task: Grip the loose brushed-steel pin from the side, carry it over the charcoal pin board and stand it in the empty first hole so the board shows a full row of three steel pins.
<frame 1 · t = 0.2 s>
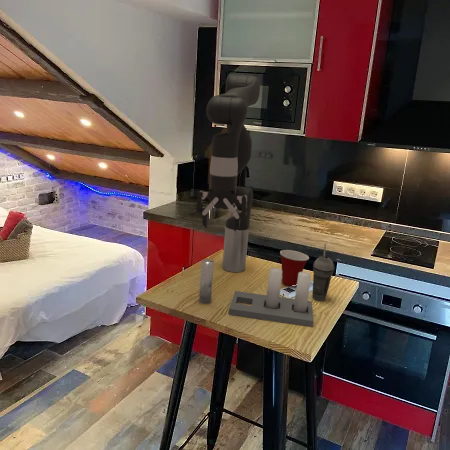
hand: (220, 228, 123), 29 cm above the table, tool pointing down, fingers open, 8 cm apart
steel pin: (204, 301, 143), on the table
plastic cup: (290, 284, 163), on the table
pin board: (271, 310, 140), on the table
beverage cup: (318, 298, 152), on the table
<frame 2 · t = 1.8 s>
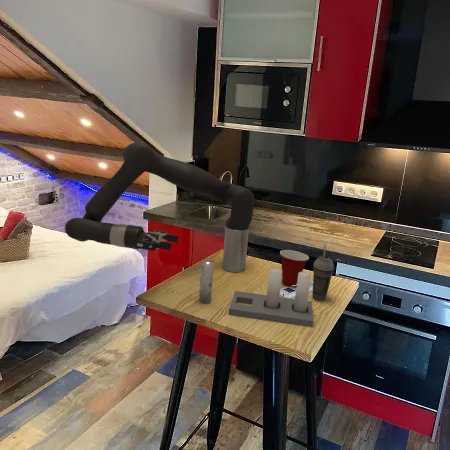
hand: (175, 242, 139), 19 cm above the table, tool horizontal, fingers open, 8 cm apart
nothing on the table moved.
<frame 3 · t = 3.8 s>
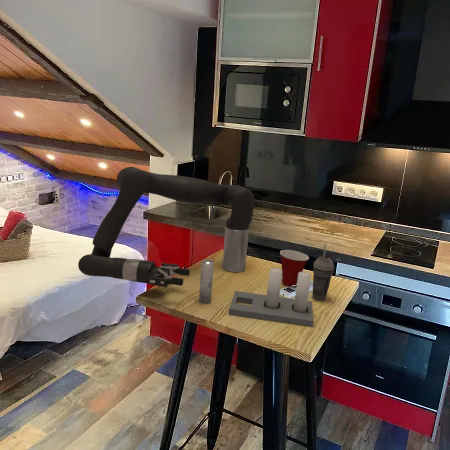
hand: (186, 277, 142), 7 cm above the table, tool horizontal, fingers open, 8 cm apart
nothing on the table moved.
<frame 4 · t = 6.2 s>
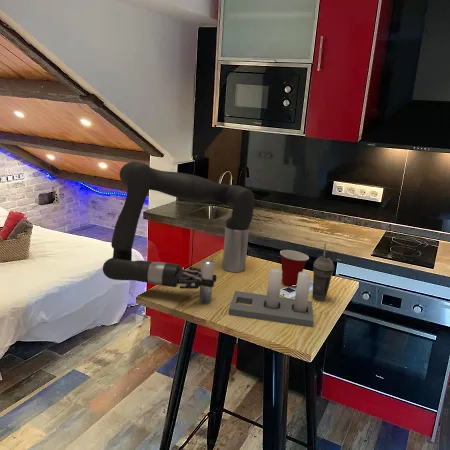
hand: (214, 281, 140), 8 cm above the table, tool horizontal, fingers closed on steel pin, 4 cm apart
steel pin: (204, 301, 143), on the table, touching gripper
everything else where it was.
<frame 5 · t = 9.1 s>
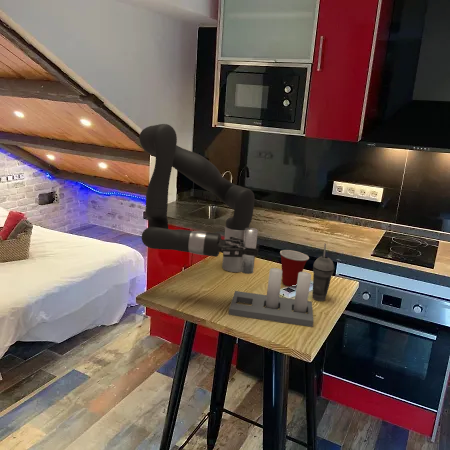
hand: (258, 250, 135), 20 cm above the table, tool horizontal, fingers closed on steel pin, 4 cm apart
steel pin: (247, 271, 138), point 12 cm above the table, touching gripper
everything else where it was.
when the fingers open (9 cm above the table, at t = 12.0 s): steel pin drops 1 cm, resting in pin board.
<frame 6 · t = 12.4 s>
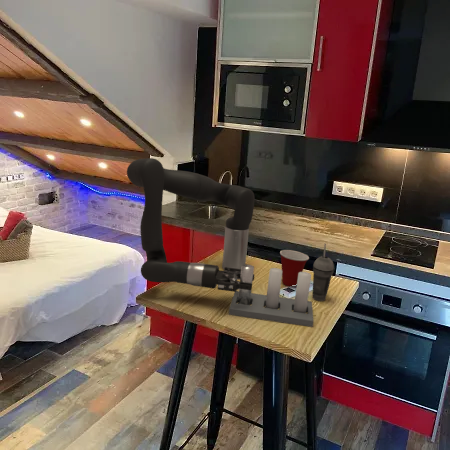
hand: (253, 282, 138), 9 cm above the table, tool horizontal, fingers open, 7 cm apart
steel pin: (243, 306, 141), resting in pin board
everything else where it was.
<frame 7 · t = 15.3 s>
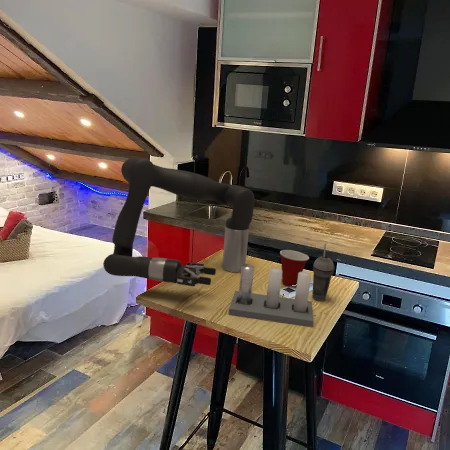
hand: (213, 276, 140), 9 cm above the table, tool horizontal, fingers open, 8 cm apart
nothing on the table moved.
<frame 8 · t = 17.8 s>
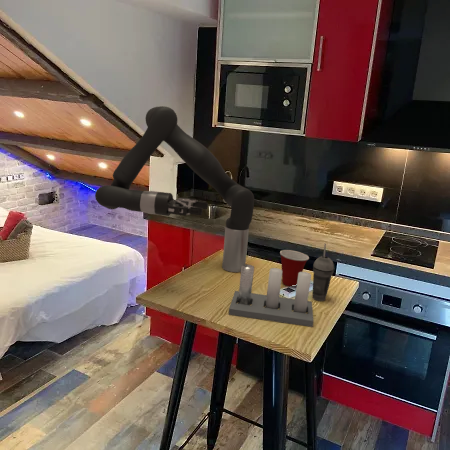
hand: (204, 208, 140), 30 cm above the table, tool horizontal, fingers open, 8 cm apart
nothing on the table moved.
at the end: steel pin 0.1 cm from the target spot on the pin board, point 0.0 cm above the pin board's base; steel pin tilted 1°; the gripper is holding nothing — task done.
